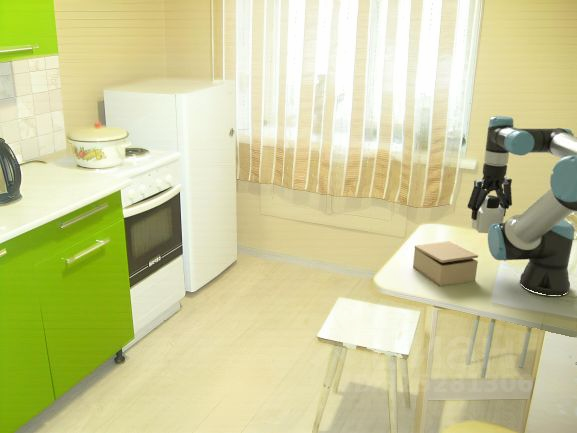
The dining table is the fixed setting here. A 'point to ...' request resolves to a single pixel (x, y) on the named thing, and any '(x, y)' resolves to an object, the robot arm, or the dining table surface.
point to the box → (445, 269)
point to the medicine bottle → (489, 213)
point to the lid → (446, 251)
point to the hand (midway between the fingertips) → (486, 226)
